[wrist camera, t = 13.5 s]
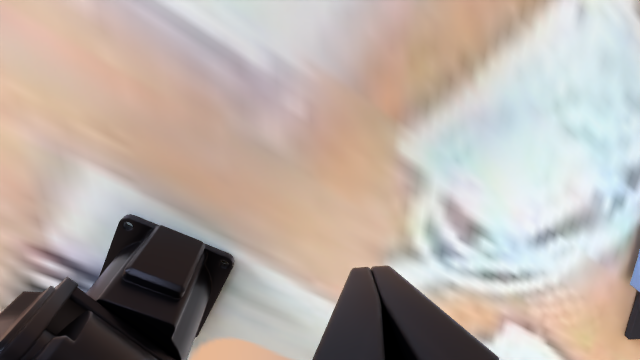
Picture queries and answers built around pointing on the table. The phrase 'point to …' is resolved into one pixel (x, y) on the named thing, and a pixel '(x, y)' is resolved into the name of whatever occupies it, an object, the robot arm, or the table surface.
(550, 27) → the table surface
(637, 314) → the rubber mat
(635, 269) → the blue block
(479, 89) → the table surface
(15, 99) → the table surface
